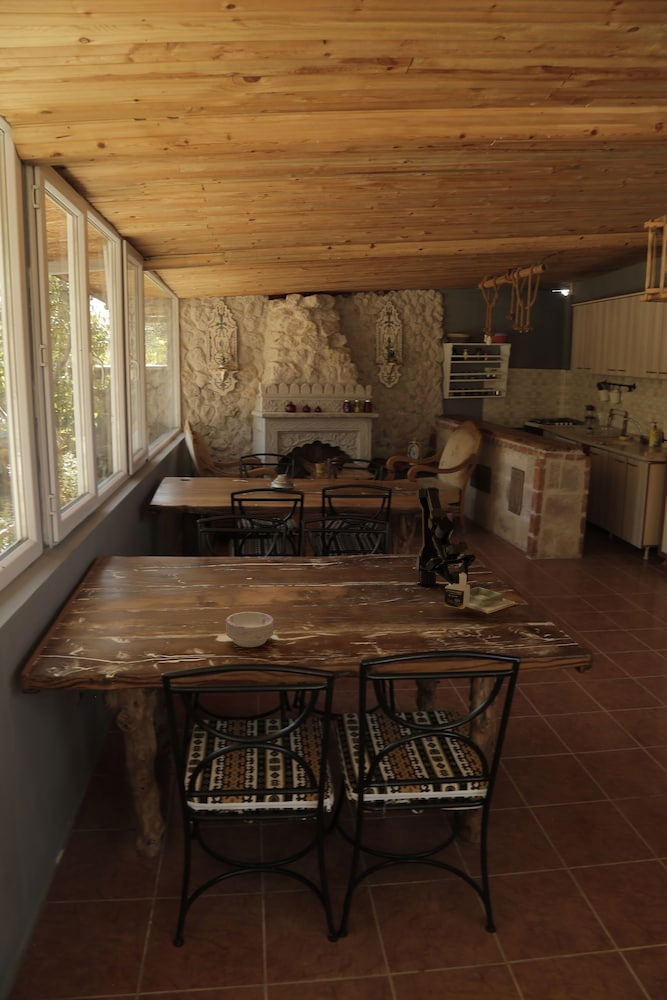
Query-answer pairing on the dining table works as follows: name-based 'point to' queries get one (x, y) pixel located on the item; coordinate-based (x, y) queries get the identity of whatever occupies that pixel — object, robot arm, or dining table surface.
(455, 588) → the medicine bottle
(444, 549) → the robot arm
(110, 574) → the dining table surface
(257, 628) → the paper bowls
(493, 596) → the holder board
